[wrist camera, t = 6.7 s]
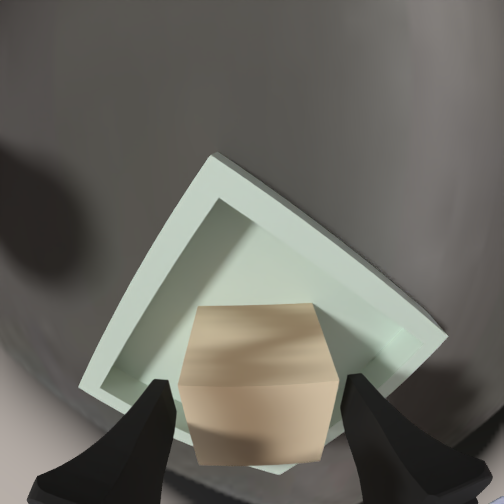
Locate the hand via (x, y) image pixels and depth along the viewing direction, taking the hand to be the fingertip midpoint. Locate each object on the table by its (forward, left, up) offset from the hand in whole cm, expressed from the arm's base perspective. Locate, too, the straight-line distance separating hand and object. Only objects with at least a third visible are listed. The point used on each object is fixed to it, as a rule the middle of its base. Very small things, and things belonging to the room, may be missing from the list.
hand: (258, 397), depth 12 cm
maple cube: (0, 0, -3) cm, 3 cm away
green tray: (0, 0, -4) cm, 4 cm away
